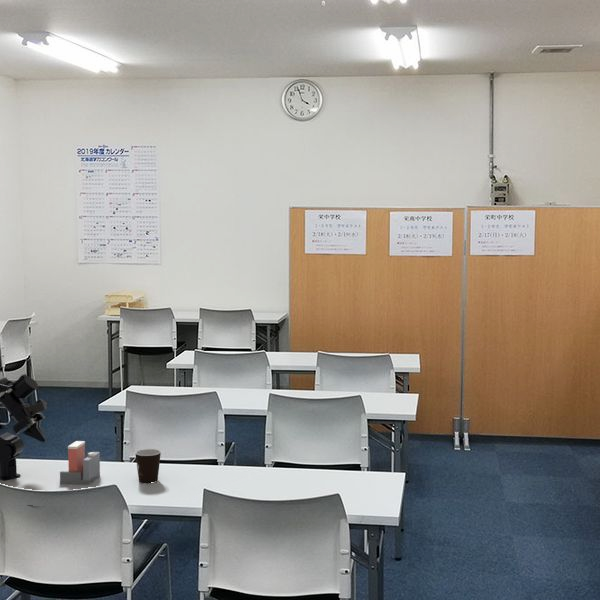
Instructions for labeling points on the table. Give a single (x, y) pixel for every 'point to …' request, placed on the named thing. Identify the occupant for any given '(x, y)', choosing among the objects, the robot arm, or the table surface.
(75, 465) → the red rectangular block
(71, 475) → the grey stepped block
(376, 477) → the table surface
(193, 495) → the table surface
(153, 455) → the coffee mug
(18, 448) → the robot arm
